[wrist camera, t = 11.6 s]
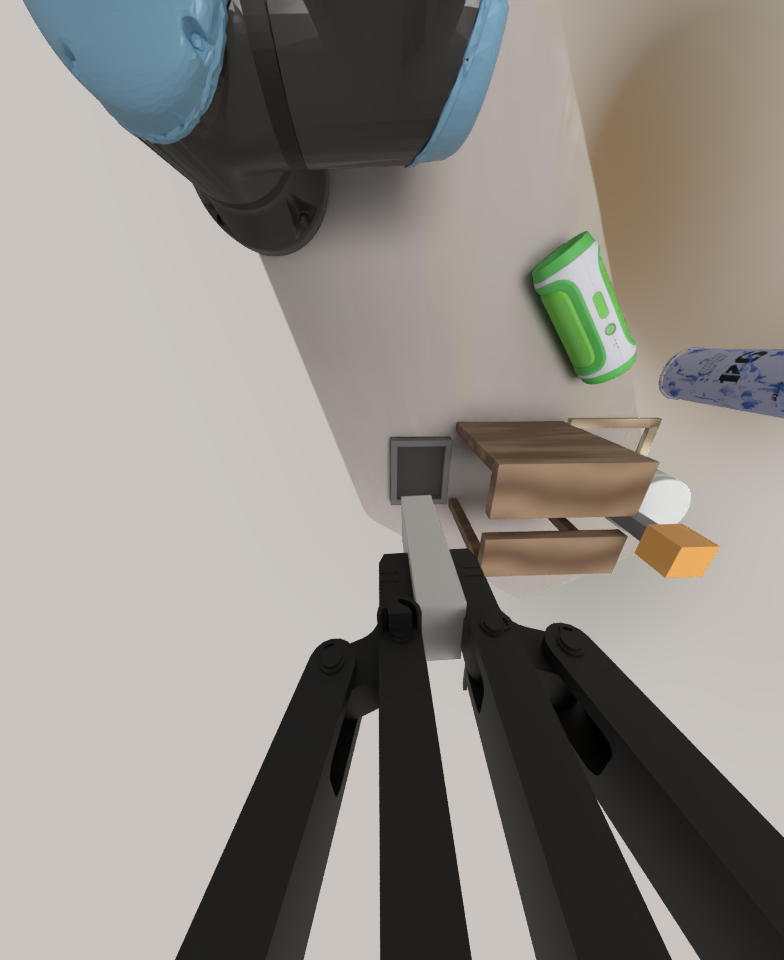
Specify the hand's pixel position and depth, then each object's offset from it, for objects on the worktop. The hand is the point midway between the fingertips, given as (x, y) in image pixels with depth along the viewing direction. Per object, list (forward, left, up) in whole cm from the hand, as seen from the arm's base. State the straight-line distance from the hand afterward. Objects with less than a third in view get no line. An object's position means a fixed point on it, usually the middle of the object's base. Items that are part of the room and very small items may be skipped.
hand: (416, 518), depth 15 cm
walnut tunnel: (+12, +20, -34) cm, 41 cm away
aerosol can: (-4, +47, -34) cm, 58 cm away
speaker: (-12, +26, -35) cm, 45 cm away
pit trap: (+12, +5, -34) cm, 36 cm away
